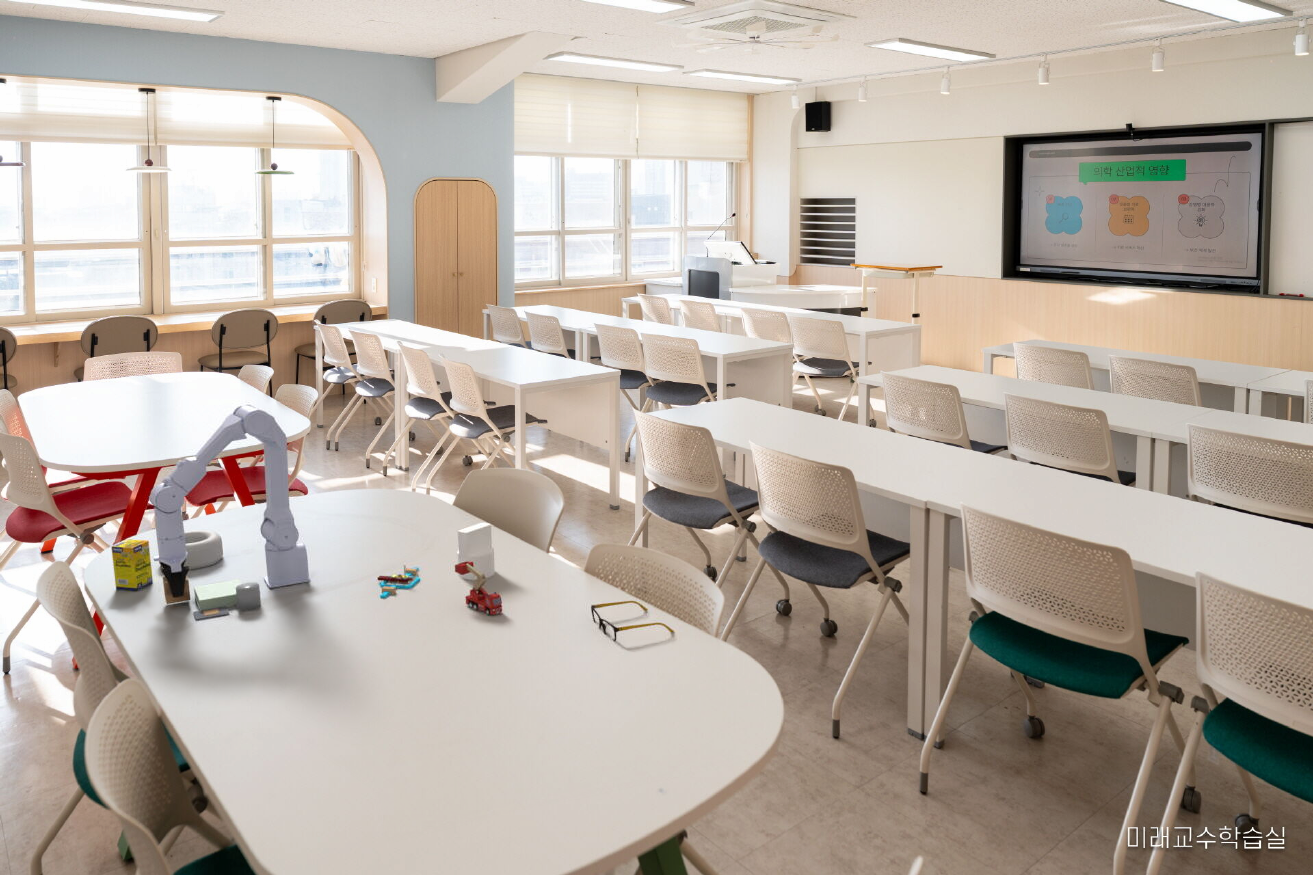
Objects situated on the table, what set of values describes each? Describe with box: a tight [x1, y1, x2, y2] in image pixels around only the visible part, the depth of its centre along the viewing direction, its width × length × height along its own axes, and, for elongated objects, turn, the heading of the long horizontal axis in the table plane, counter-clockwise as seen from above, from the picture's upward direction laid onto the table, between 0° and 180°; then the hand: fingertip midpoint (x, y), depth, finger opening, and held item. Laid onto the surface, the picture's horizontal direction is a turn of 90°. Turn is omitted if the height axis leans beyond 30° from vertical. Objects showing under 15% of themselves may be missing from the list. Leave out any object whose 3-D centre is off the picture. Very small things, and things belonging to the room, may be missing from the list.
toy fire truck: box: [454, 561, 503, 616], centre depth 236 cm, size 3×14×10 cm, turn 47°
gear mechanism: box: [377, 564, 421, 599], centre depth 252 cm, size 20×5×9 cm
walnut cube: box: [162, 575, 191, 605], centre depth 238 cm, size 5×5×5 cm
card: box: [192, 606, 230, 621], centre depth 233 cm, size 7×5×1 cm
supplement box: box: [110, 538, 154, 592], centre depth 249 cm, size 6×6×11 cm
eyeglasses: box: [590, 600, 675, 642], centre depth 226 cm, size 14×14×4 cm
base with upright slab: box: [456, 521, 496, 581], centre depth 257 cm, size 9×9×12 cm
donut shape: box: [184, 529, 224, 571], centre depth 267 cm, size 15×15×7 cm
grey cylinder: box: [236, 582, 262, 612], centre depth 237 cm, size 5×5×5 cm
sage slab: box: [193, 579, 242, 611], centre depth 241 cm, size 10×10×3 cm
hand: (177, 592), depth 238 cm, fingers closed on walnut cube, 5 cm apart
